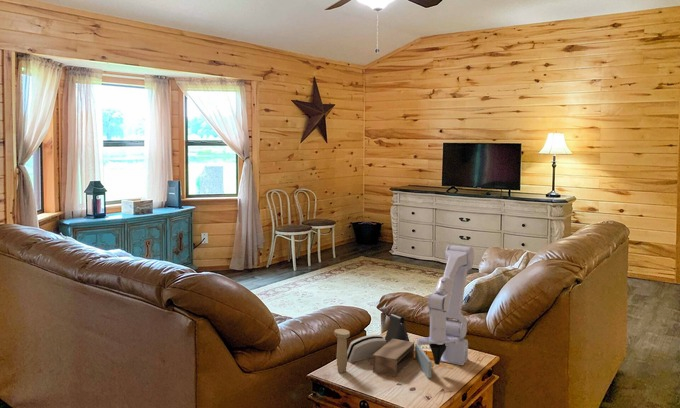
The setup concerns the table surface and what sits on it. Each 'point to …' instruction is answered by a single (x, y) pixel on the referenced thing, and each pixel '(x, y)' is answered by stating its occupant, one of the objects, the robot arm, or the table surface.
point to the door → (423, 360)
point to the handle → (342, 349)
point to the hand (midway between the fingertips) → (436, 363)
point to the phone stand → (396, 329)
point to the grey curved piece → (364, 347)
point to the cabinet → (393, 357)
